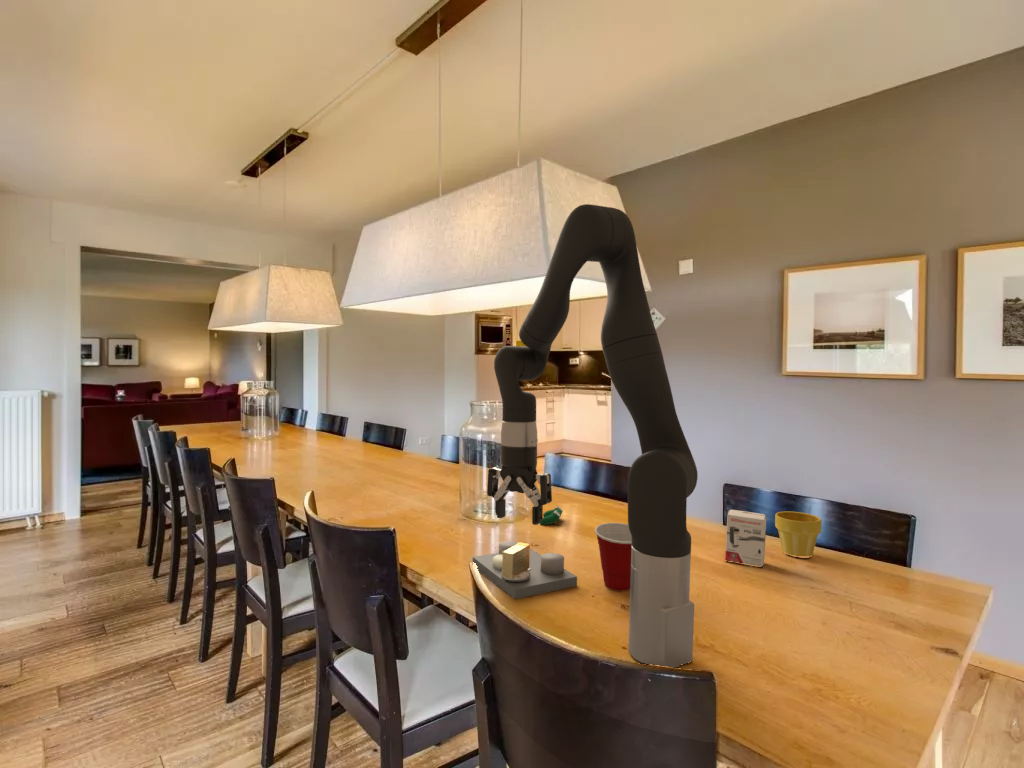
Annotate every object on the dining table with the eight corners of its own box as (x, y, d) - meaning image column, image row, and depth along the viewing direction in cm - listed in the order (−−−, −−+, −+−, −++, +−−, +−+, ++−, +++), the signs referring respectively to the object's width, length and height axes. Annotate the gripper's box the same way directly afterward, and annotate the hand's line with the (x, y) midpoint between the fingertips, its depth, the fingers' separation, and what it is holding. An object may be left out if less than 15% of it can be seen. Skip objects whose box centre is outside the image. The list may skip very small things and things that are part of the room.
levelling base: (576, 585, 114) (577, 562, 114) (514, 599, 107) (515, 574, 107) (528, 555, 132) (529, 535, 131) (472, 565, 124) (472, 543, 124)
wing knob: (520, 585, 108) (520, 555, 108) (494, 579, 111) (495, 550, 111) (536, 574, 114) (537, 545, 114) (512, 568, 117) (512, 540, 117)
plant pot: (764, 549, 140) (766, 511, 140) (797, 546, 143) (798, 509, 143) (795, 563, 130) (797, 523, 130) (830, 560, 133) (831, 520, 133)
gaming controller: (546, 532, 157) (561, 519, 156) (537, 522, 157) (552, 509, 156) (551, 523, 166) (565, 511, 165) (542, 514, 166) (556, 501, 165)
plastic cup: (606, 599, 108) (608, 539, 107) (584, 578, 118) (586, 524, 118) (655, 594, 111) (656, 536, 110) (630, 574, 121) (631, 521, 121)
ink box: (724, 562, 130) (726, 513, 130) (726, 556, 134) (728, 509, 134) (763, 569, 126) (765, 519, 126) (764, 562, 130) (766, 514, 130)
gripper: (480, 442, 112) (480, 519, 113) (540, 447, 105) (539, 530, 105) (500, 438, 119) (499, 511, 119) (558, 443, 111) (557, 521, 112)
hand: (518, 520), depth 112 cm, fingers open, 8 cm apart
